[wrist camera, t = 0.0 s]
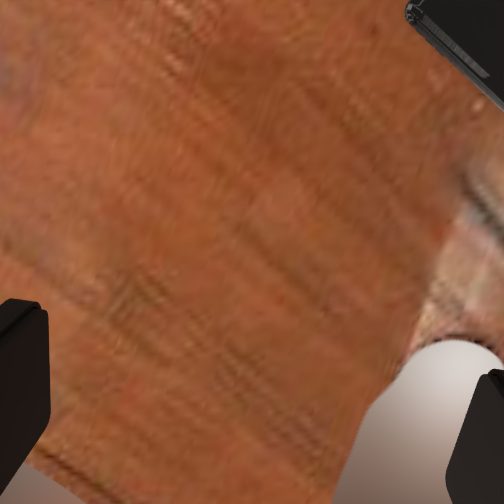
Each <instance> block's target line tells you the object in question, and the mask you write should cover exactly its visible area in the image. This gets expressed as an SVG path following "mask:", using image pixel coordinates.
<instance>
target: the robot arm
mask: <svg viewBox="0 0 504 504" xmlns="http://www.w3.org/2000/svg"><path fill="white" fill-rule="evenodd" d="M50 414H51V401H50V363H49V324H48V313H47V311H46V310H42V309H41V306H40V304H39V303H38V302H34V301H27V300H20V299H13V298H10V299H8V300H6V301H5V302H4V303H3V304H1V305H0V496H1V494H2V493H3V491H4V490H5V488H6V487H7V485H8V484H9V482H10V481H11V479H12V478H13V476H14V475H15V473H16V472H17V470H18V469H19V467H20V466H21V464H22V463H23V462H24V460H25V459H26V457H27V456H28V454H29V453H30V451H31V450H32V448H33V447H34V445H35V444H36V442H37V441H38V439H39V438H40V436H41V435H42V433H43V432H44V430H45V429H46V427H47V425H48V422H49V419H50ZM445 478H446V487H447V490H448V493H449V495H450V498H451V500H452V503H453V504H504V370H499V369H492V370H490V372H488V374H483V375H481V377H480V378H479V380H478V383H477V386H476V388H475V391H474V394H473V397H472V400H471V403H470V405H469V408H468V411H467V414H466V417H465V419H464V422H463V425H462V428H461V431H460V433H459V436H458V439H457V442H456V445H455V447H454V450H453V453H452V456H451V459H450V461H449V464H448V467H447V470H446V477H445Z"/></svg>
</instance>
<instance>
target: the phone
mask: <svg viewBox="0 0 504 504" xmlns="http://www.w3.org/2000/svg"><path fill="white" fill-rule="evenodd" d="M405 17H406V20H407V21H408V23H409V24H410V25H411V26H413V27H414V28H415V29H416V31H417V32H418V33H419V34H420V35H422V36H423V37H424V38H425V40H426V41H427V42H428V43H429V44H431V45H432V46H433V47H435V48H436V50H437V51H438V52H439V53H440V54H441V55H442V56H444V57H446V58H447V59H448V60H449V61H450V62H451V63H452V64H453V65H454V66H455V67H456V68H457V69H458V70H459V71H460V72H461V73H463V74H464V75H465V76H466V77H467V78H468V79H469V80H470V81H471V82H472V83H473V84H474V85H475V86H476V87H477V88H479V89H480V90H481V91H482V92H483V93H484V94H485V95H486V96H487V97H488V98H489V99H490V100H491V101H492V102H493V103H494V104H496V105H497V106H498V107H499V108H500V109H501V110H502V111H503V112H504V0H409V2H408V3H407V5H406V8H405Z"/></svg>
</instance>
